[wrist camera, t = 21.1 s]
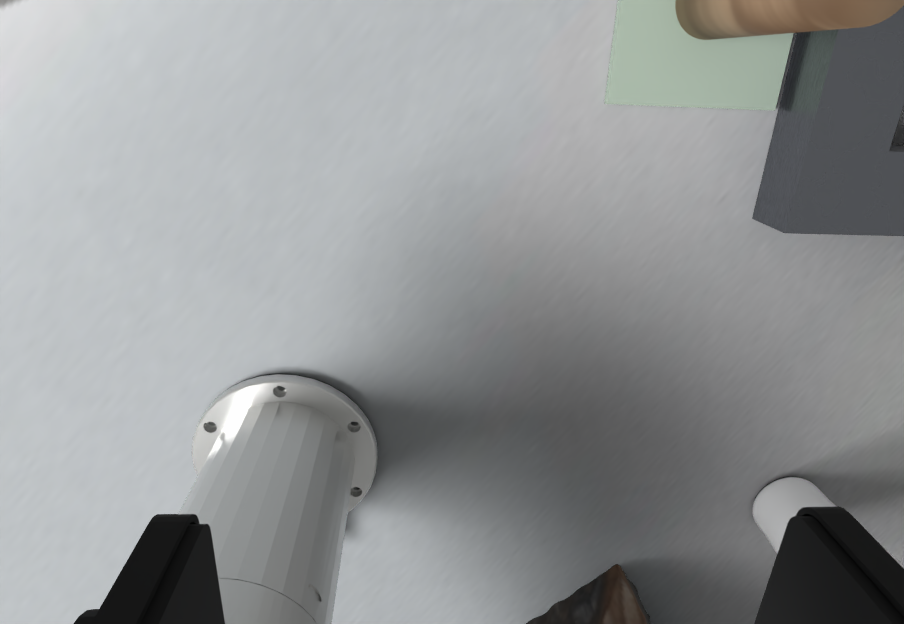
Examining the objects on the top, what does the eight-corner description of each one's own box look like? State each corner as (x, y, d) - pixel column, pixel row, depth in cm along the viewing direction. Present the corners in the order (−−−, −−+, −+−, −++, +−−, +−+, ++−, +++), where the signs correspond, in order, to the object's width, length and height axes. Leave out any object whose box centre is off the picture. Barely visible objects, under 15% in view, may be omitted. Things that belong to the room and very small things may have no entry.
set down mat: (770, 110, 35) (775, 110, 34) (604, 103, 34) (607, 103, 33) (823, -115, 30) (829, -117, 30) (634, -128, 30) (638, -130, 29)
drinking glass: (840, 498, 47) (1019, 679, 33) (769, 547, 48) (912, 740, 34) (795, 450, 45) (967, 623, 31) (723, 503, 46) (855, 690, 32)
